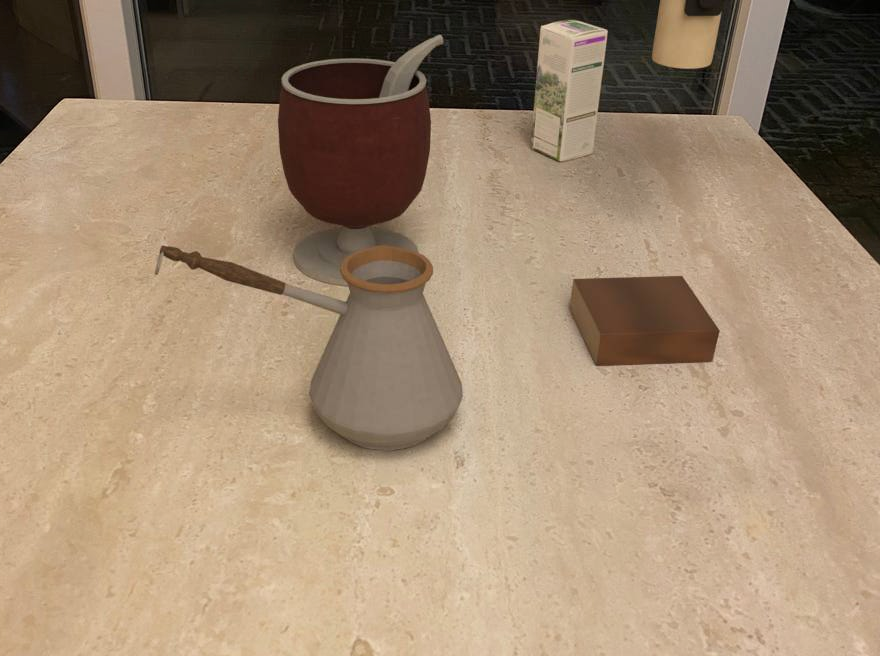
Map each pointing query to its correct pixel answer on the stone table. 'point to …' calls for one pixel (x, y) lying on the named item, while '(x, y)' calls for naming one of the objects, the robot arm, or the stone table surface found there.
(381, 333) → the coffee pot
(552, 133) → the syrup box
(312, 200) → the mate gourd
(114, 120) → the stone table surface
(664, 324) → the walnut block
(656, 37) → the candle
